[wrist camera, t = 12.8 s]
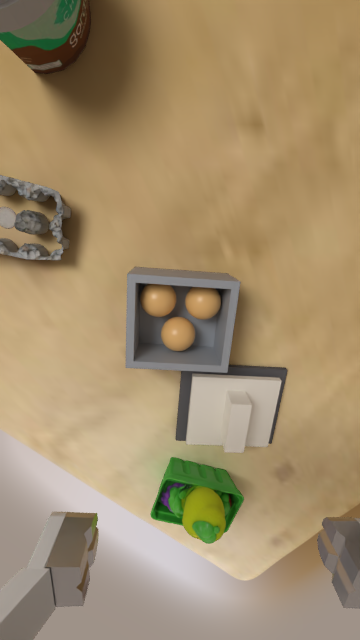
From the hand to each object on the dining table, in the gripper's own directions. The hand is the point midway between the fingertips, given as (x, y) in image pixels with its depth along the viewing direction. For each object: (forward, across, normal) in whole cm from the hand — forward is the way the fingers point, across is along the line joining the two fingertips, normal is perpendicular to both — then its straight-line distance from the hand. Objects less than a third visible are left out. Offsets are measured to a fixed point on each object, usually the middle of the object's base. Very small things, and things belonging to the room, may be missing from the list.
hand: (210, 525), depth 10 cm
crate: (+25, +1, -1) cm, 25 cm away
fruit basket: (+25, -3, +25) cm, 35 cm away
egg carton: (+25, +18, -10) cm, 33 cm away
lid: (+24, -7, +12) cm, 28 cm away
